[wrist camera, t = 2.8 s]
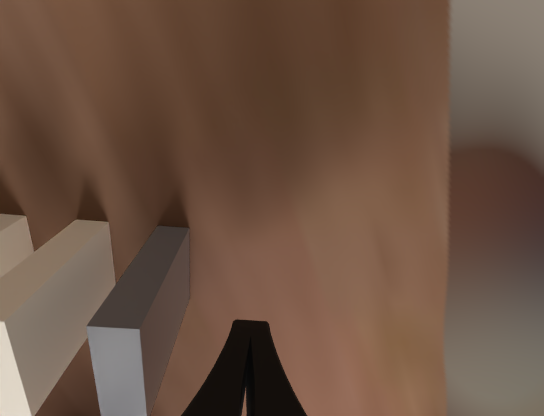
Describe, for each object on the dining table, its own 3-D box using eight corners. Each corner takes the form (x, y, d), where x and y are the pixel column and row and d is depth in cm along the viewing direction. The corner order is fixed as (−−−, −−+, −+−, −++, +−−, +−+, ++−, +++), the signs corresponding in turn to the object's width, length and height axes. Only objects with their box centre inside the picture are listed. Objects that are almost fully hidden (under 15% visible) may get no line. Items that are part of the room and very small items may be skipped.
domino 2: (108, 221, 16) (4, 321, 10) (116, 293, 18) (32, 419, 11) (76, 219, 16) (-52, 318, 10) (87, 291, 18) (-16, 417, 11)
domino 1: (189, 228, 16) (139, 329, 10) (189, 298, 18) (147, 423, 12) (157, 225, 16) (86, 326, 10) (160, 296, 18) (102, 422, 11)
